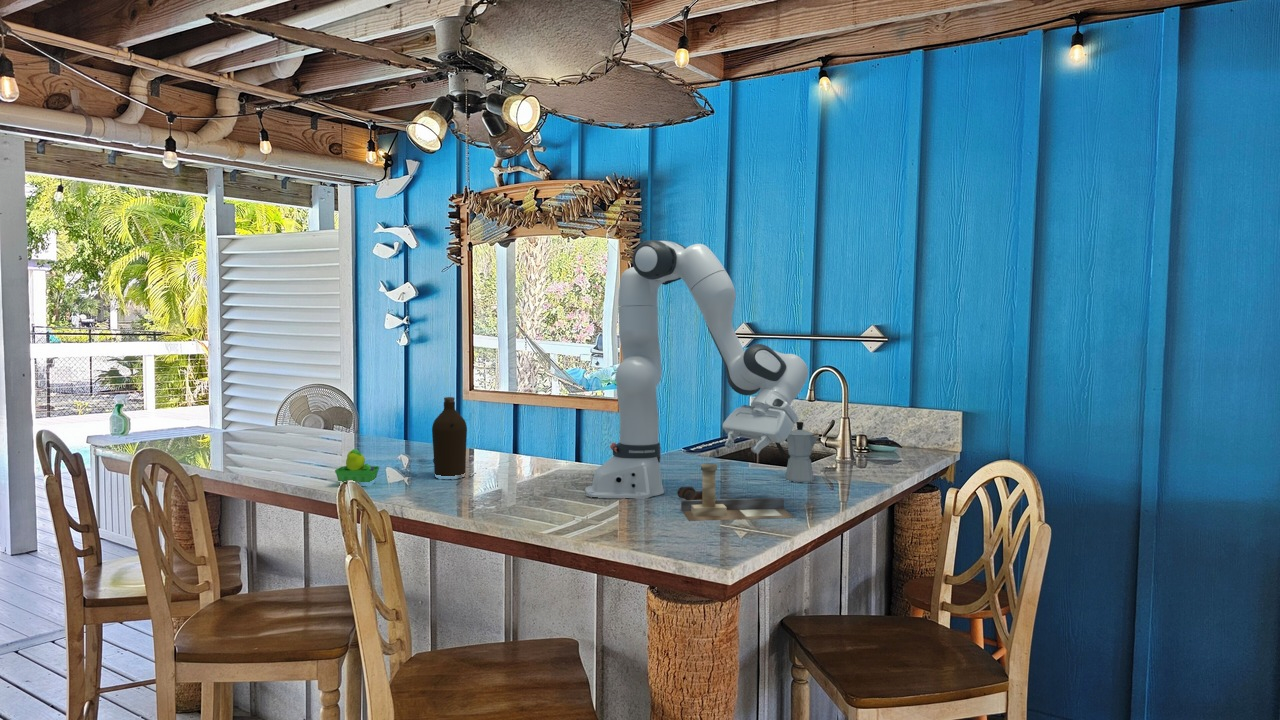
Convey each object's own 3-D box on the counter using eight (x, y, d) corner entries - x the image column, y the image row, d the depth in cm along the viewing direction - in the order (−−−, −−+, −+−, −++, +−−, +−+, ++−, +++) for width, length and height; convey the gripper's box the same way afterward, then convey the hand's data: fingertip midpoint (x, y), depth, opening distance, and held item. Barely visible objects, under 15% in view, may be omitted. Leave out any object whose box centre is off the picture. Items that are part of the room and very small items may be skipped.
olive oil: (474, 476, 260) (473, 397, 259) (447, 481, 252) (446, 399, 251) (452, 472, 267) (451, 395, 266) (425, 477, 259) (424, 397, 258)
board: (688, 527, 197) (688, 510, 196) (680, 515, 209) (680, 499, 208) (795, 523, 200) (795, 507, 200) (781, 512, 212) (781, 496, 211)
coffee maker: (824, 480, 255) (824, 421, 254) (814, 484, 248) (815, 424, 247) (778, 475, 263) (778, 418, 262) (767, 479, 255) (768, 421, 255)
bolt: (685, 506, 228) (704, 516, 214) (669, 497, 227) (688, 507, 212) (694, 487, 229) (715, 496, 214) (679, 478, 227) (699, 487, 213)
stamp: (694, 516, 201) (694, 466, 200) (691, 512, 205) (691, 463, 204) (726, 515, 202) (726, 465, 201) (723, 511, 206) (723, 462, 205)
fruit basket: (380, 482, 251) (380, 445, 251) (372, 488, 243) (371, 450, 242) (342, 482, 251) (341, 445, 250) (332, 488, 242) (331, 450, 242)
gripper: (734, 397, 221) (706, 436, 216) (791, 403, 205) (763, 446, 199) (746, 412, 224) (719, 452, 219) (804, 419, 208) (776, 462, 202)
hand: (740, 449), depth 209 cm, fingers open, 8 cm apart
